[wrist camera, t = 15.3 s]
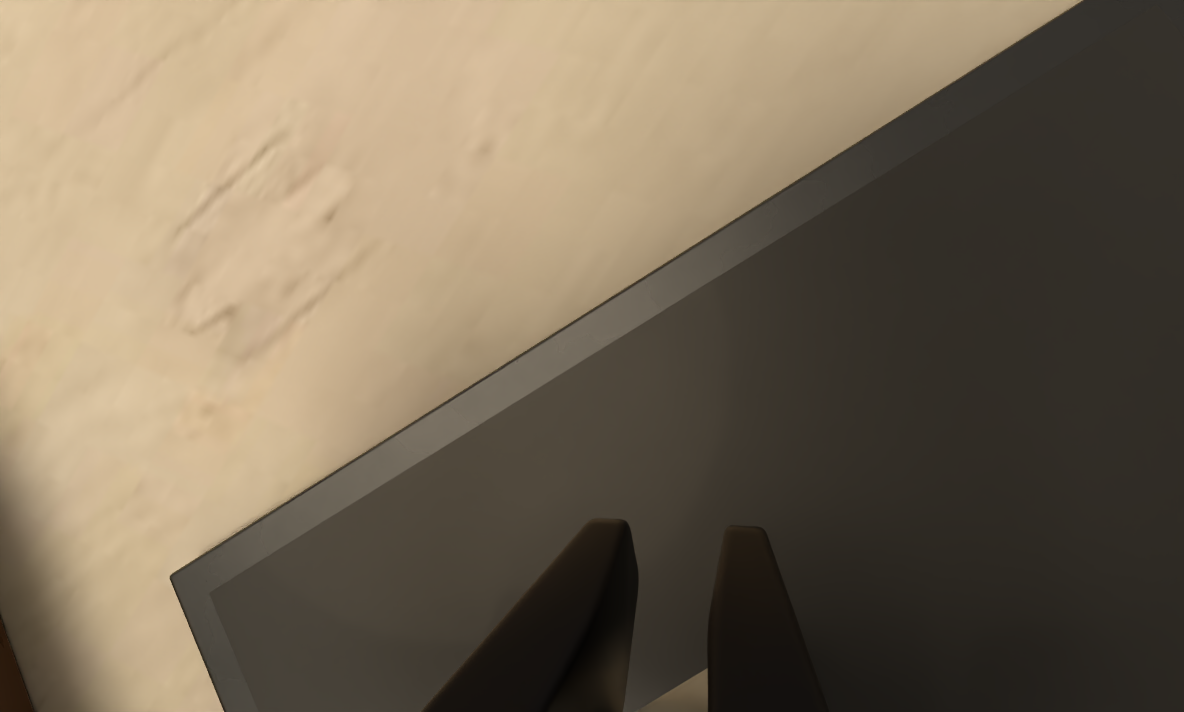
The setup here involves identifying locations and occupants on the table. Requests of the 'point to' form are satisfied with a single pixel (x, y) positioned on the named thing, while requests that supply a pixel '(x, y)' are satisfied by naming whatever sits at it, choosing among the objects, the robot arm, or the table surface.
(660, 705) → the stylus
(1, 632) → the dock
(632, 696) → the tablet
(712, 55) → the table surface
